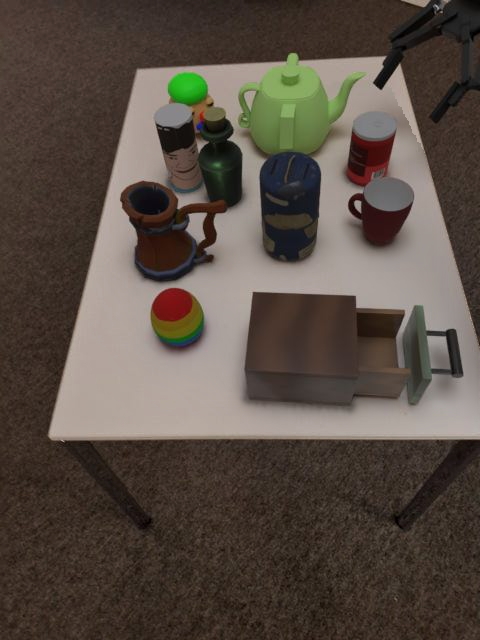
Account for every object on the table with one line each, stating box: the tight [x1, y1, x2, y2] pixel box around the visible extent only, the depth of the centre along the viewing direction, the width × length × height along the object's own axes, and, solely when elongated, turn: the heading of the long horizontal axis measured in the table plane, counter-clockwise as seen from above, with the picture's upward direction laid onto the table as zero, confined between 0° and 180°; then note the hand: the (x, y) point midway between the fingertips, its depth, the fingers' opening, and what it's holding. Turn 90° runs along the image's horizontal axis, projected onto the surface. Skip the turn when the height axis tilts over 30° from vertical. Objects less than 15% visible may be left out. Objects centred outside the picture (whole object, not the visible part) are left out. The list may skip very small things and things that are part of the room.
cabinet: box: [244, 291, 359, 406], centre depth 69 cm, size 15×13×10 cm
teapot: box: [237, 52, 367, 156], centre depth 97 cm, size 19×20×14 cm
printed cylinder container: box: [153, 103, 204, 194], centre depth 91 cm, size 7×7×15 cm
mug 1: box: [119, 180, 228, 282], centre depth 80 cm, size 18×12×15 cm, turn 81°
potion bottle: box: [198, 106, 244, 208], centre depth 87 cm, size 8×8×18 cm
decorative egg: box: [149, 287, 205, 347], centre depth 74 cm, size 8×8×10 cm
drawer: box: [353, 304, 465, 405], centre depth 68 cm, size 18×11×8 cm, turn 84°
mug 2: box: [347, 176, 415, 245], centre depth 82 cm, size 11×8×10 cm
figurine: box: [167, 71, 215, 134], centre depth 101 cm, size 11×10×12 cm
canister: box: [258, 152, 322, 262], centre depth 79 cm, size 10×10×18 cm
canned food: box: [346, 110, 398, 187], centre depth 90 cm, size 8×8×11 cm
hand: (403, 103), depth 87 cm, fingers open, 13 cm apart
